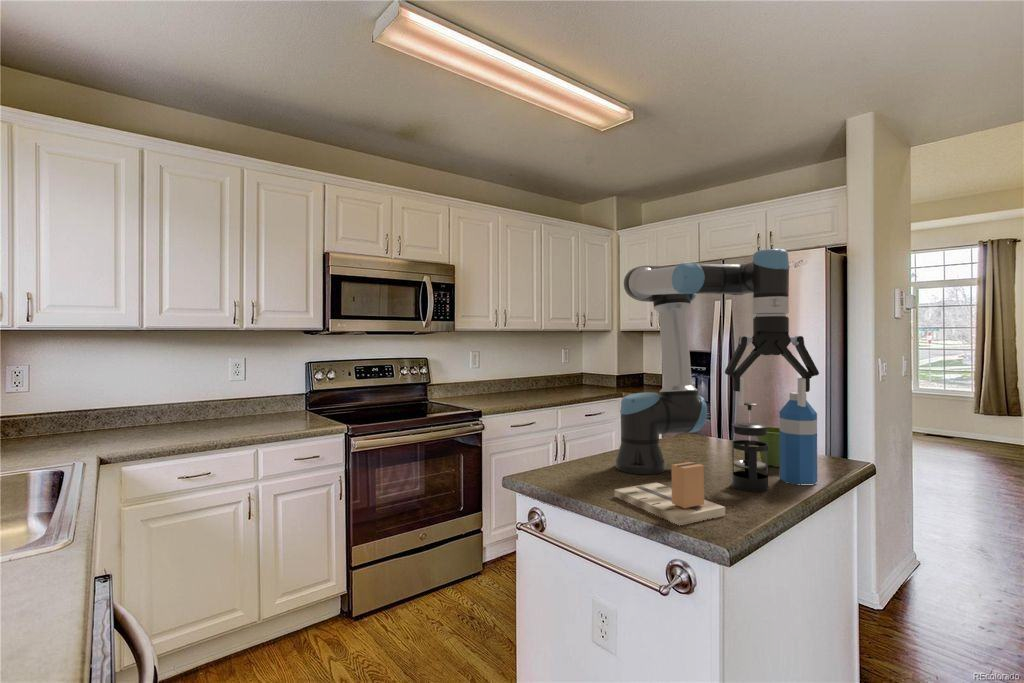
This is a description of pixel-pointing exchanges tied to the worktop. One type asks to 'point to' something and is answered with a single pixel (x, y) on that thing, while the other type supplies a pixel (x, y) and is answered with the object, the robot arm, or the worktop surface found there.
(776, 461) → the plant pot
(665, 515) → the fader board
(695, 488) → the block
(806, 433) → the water bottle
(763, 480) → the french press
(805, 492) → the worktop surface
